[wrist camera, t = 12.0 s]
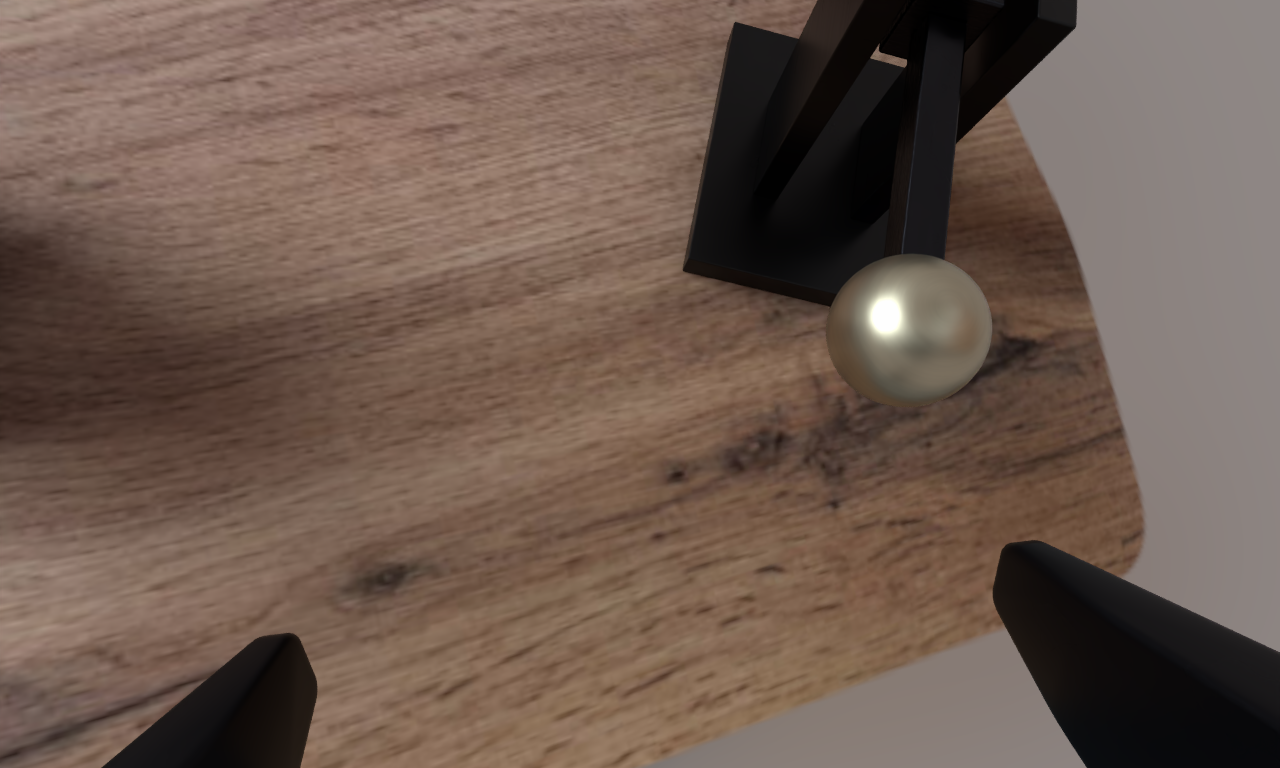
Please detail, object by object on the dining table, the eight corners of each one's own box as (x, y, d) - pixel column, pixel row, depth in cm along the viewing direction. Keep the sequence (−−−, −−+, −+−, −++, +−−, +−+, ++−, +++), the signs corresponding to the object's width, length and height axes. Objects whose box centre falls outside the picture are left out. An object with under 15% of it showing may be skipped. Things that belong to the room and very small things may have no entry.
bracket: (897, 322, 25) (1154, 167, 14) (682, 271, 25) (777, 67, 14) (921, 94, 28) (1153, -184, 17) (727, 42, 27) (838, -282, 16)
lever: (926, 431, 16) (1025, 407, 13) (794, 401, 16) (858, 369, 12) (966, 15, 19) (1056, -96, 16) (856, -16, 19) (922, -136, 15)
